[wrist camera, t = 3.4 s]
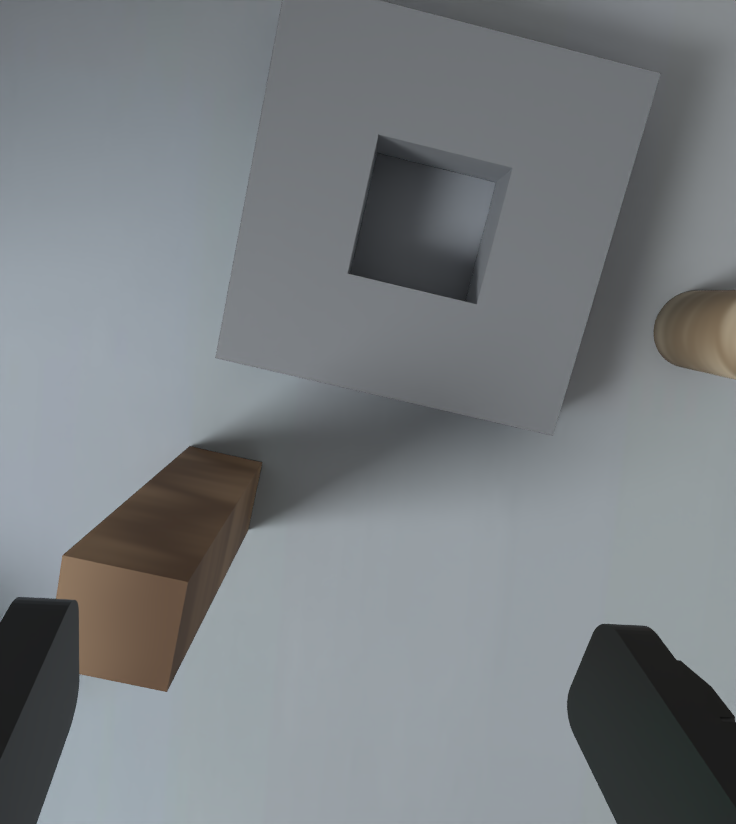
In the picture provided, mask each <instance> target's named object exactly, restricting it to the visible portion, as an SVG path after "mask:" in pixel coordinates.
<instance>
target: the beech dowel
mask: <svg viewBox="0 0 736 824" xmlns="http://www.w3.org/2000/svg"><path fill="white" fill-rule="evenodd" d="M654 341H655V344H656V347H657V349H658V351H659V353H660V354H661V355H662V356H663V358H665V359H666V360H667V361H668V362H670V363H671V364H674V365H676V366H679V367H683V368H687V369H692V370H696V371H701V372H705V373H709V374H714V375H718V376H722V377H727V378H731V379H735V380H736V290H705V291H688V292H684V293H681V294H679V295H677V296H675V297H674V298H672V299H671V300H669V301H668V302H667V303H666V304H665V305H664V306H663V308H662V309H661V311H660V312H659V314H658V316H657V319H656V321H655V325H654Z"/></svg>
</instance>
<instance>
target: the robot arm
mask: <svg viewBox="0 0 736 824" xmlns="http://www.w3.org/2000/svg"><path fill="white" fill-rule="evenodd" d="M78 689H79V607H78V602H77V601H76V600H70V599H49V598H29V597H18V598H16V599H15V600H14V601H13V602H12V604H11V605H10V607H9V608H8V610H7V612H6V614H5V615H4V617H3V619H2V621H1V622H0V824H36V823H37V821H38V818H39V815H40V812H41V809H42V806H43V804H44V801H45V798H46V795H47V792H48V789H49V787H50V784H51V781H52V778H53V775H54V772H55V770H56V767H57V764H58V761H59V758H60V755H61V753H62V750H63V747H64V744H65V741H66V738H67V736H68V733H69V730H70V727H71V723H72V720H73V716H74V712H75V708H76V703H77V697H78ZM567 710H568V718H569V722H570V726H571V729H572V731H573V734H574V736H575V738H576V740H577V742H578V744H579V746H580V748H581V750H582V752H583V754H584V756H585V759H586V761H587V763H588V765H589V767H590V769H591V771H592V773H593V775H594V777H595V779H596V781H597V783H598V785H599V787H600V789H601V791H602V793H603V796H604V798H605V800H606V802H607V804H608V806H609V808H610V810H611V812H612V814H613V816H614V818H615V820H616V822H617V824H736V722H735V717H734V715H733V714H732V713H731V711H730V710H729V709H728V708H727V706H726V705H725V704H724V702H723V701H722V700H721V699H720V697H719V696H718V695H717V693H716V692H715V691H714V689H713V688H712V687H711V686H710V685H709V684H707V683H706V682H705V681H704V680H703V679H702V678H700V677H699V676H698V675H697V674H696V673H694V672H693V671H692V670H691V669H690V668H688V667H687V666H686V665H685V664H684V663H683V662H681V661H679V660H676V659H675V658H674V656H673V655H672V654H671V652H670V651H669V650H668V648H667V647H666V646H665V644H664V643H663V642H662V640H661V639H660V638H659V636H658V635H657V634H656V633H655V632H654V631H653V630H652V629H651V628H649V627H647V626H637V625H617V624H601V625H599V626H598V627H597V628H596V629H595V630H594V632H593V634H592V637H591V639H590V641H589V644H588V646H587V649H586V651H585V653H584V656H583V658H582V661H581V663H580V665H579V668H578V670H577V673H576V675H575V677H574V680H573V682H572V685H571V687H570V690H569V693H568V700H567Z"/></svg>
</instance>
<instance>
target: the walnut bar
mask: <svg viewBox="0 0 736 824" xmlns="http://www.w3.org/2000/svg"><path fill="white" fill-rule="evenodd" d="M261 466H262V462H258V461H253V460H249V459H245V458H240V457H236V456H231V455H227V454H222V453H218V452H213V451H209V450H204V449H200V448H195V447H191V446H189V447H188V448H187V449H186V450H185V451H184V452H182V453H181V454H180V455H179V456H178V457H177V458H175V459H174V460H173V461H172V462H171V463H170V464H168V465H167V466H166V467H165V468H164V469H163V470H161V471H160V472H159V473H158V474H157V475H156V476H154V477H153V478H152V479H151V480H150V481H149V482H147V483H146V484H145V485H144V486H143V487H142V488H140V489H139V490H138V491H137V492H136V493H135V494H133V495H132V496H131V497H130V498H129V499H128V500H126V501H125V502H124V503H123V504H122V505H121V506H119V507H118V508H117V509H116V510H115V511H114V512H112V513H111V514H110V515H109V516H108V517H107V518H105V519H104V520H103V521H102V522H101V523H100V524H98V525H97V526H96V527H95V528H94V529H93V530H91V531H90V532H89V533H88V534H87V535H86V536H84V537H83V538H82V539H81V540H80V541H79V542H78V543H76V544H75V545H74V546H73V547H72V548H71V549H69V550H68V551H67V552H66V553H65V554H64V555H63V556H62V563H61V569H60V576H59V583H58V589H57V596H56V599H70V600H76V601H77V602H78V607H79V674H82V675H87V676H92V677H97V678H101V679H106V680H111V681H116V682H121V683H126V684H131V685H136V686H141V687H145V688H150V689H155V690H160V691H165V692H167V691H168V689H169V687H170V685H171V683H172V681H173V679H174V677H175V675H176V673H177V671H178V669H179V667H180V665H181V663H182V661H183V659H184V657H185V655H186V653H187V651H188V649H189V647H190V645H191V643H192V641H193V639H194V637H195V635H196V633H197V631H198V629H199V627H200V625H201V623H202V621H203V619H204V617H205V615H206V613H207V611H208V609H209V607H210V605H211V603H212V601H213V599H214V597H215V595H216V593H217V591H218V589H219V587H220V585H221V583H222V581H223V579H224V577H225V575H226V573H227V571H228V569H229V567H230V565H231V563H232V561H233V559H234V557H235V555H236V553H237V551H238V549H239V547H240V545H241V543H242V541H243V540H244V538H245V536H246V534H247V532H248V529H249V524H250V519H251V514H252V509H253V505H254V500H255V495H256V490H257V485H258V481H259V476H260V471H261Z"/></svg>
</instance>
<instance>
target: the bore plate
mask: <svg viewBox="0 0 736 824" xmlns="http://www.w3.org/2000/svg"><path fill="white" fill-rule="evenodd" d="M660 75H661V73H658V72H654V71H650V70H646V69H642V68H639V67H635V66H631V65H627V64H623V63H619V62H615V61H612V60H608V59H604V58H600V57H596V56H592V55H589V54H585V53H581V52H577V51H573V50H569V49H565V48H562V47H558V46H554V45H550V44H546V43H542V42H539V41H535V40H531V39H527V38H523V37H519V36H515V35H512V34H508V33H504V32H500V31H496V30H492V29H489V28H485V27H481V26H477V25H473V24H469V23H465V22H462V21H458V20H454V19H450V18H446V17H442V16H439V15H435V14H431V13H427V12H423V11H419V10H416V9H412V8H408V7H404V6H400V5H396V4H392V3H389V2H385V1H381V0H282V4H281V10H280V15H279V20H278V26H277V31H276V36H275V42H274V47H273V52H272V58H271V63H270V69H269V74H268V79H267V85H266V90H265V95H264V101H263V106H262V111H261V117H260V122H259V127H258V133H257V138H256V143H255V149H254V154H253V159H252V165H251V170H250V175H249V181H248V186H247V191H246V197H245V202H244V207H243V213H242V218H241V223H240V229H239V234H238V239H237V245H236V250H235V255H234V261H233V266H232V271H231V277H230V282H229V288H228V293H227V298H226V304H225V309H224V314H223V320H222V325H221V330H220V336H219V341H218V346H217V352H216V357H215V358H217V359H222V360H226V361H231V362H235V363H239V364H244V365H248V366H252V367H257V368H261V369H265V370H270V371H274V372H278V373H283V374H287V375H291V376H296V377H300V378H304V379H309V380H313V381H317V382H322V383H326V384H330V385H335V386H339V387H343V388H348V389H352V390H356V391H361V392H365V393H369V394H374V395H378V396H382V397H387V398H391V399H395V400H400V401H404V402H408V403H413V404H417V405H421V406H426V407H430V408H434V409H439V410H443V411H447V412H452V413H456V414H460V415H465V416H469V417H473V418H478V419H482V420H486V421H491V422H495V423H500V424H504V425H508V426H513V427H517V428H521V429H526V430H530V431H534V432H539V433H543V434H547V435H552V436H553V434H554V431H555V427H556V424H557V421H558V417H559V414H560V411H561V407H562V404H563V401H564V397H565V394H566V390H567V387H568V384H569V380H570V377H571V374H572V370H573V367H574V364H575V360H576V357H577V354H578V350H579V347H580V343H581V340H582V337H583V333H584V330H585V327H586V323H587V320H588V317H589V313H590V310H591V306H592V303H593V300H594V296H595V293H596V290H597V286H598V283H599V280H600V276H601V273H602V269H603V266H604V263H605V259H606V256H607V253H608V249H609V246H610V243H611V239H612V236H613V233H614V229H615V226H616V222H617V219H618V216H619V212H620V209H621V206H622V202H623V199H624V196H625V192H626V189H627V185H628V182H629V179H630V175H631V172H632V169H633V165H634V162H635V159H636V155H637V152H638V149H639V145H640V142H641V138H642V135H643V132H644V128H645V125H646V122H647V118H648V115H649V112H650V108H651V105H652V101H653V98H654V95H655V91H656V88H657V85H658V81H659V78H660ZM377 153H381V154H385V155H389V156H393V157H397V158H401V159H405V160H409V161H413V162H417V163H421V164H425V165H429V166H433V167H437V168H441V169H445V170H449V171H453V172H457V173H461V174H465V175H469V176H473V177H477V178H481V179H485V180H489V181H493V182H496V185H495V189H494V193H493V197H492V201H491V205H490V208H489V212H488V216H487V220H486V224H485V228H484V232H483V235H482V239H481V243H480V247H479V251H478V255H477V259H476V262H475V266H474V270H473V274H472V278H471V282H470V286H469V289H468V293H467V297H466V301H461V300H456V299H452V298H448V297H444V296H440V295H435V294H431V293H427V292H423V291H419V290H415V289H410V288H406V287H402V286H398V285H394V284H389V283H385V282H381V281H377V280H373V279H369V278H364V277H360V276H356V275H352V274H350V272H351V268H352V263H353V259H354V254H355V250H356V245H357V241H358V236H359V232H360V227H361V223H362V218H363V214H364V209H365V205H366V200H367V196H368V191H369V187H370V182H371V178H372V173H373V169H374V164H375V160H376V155H377Z"/></svg>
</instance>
